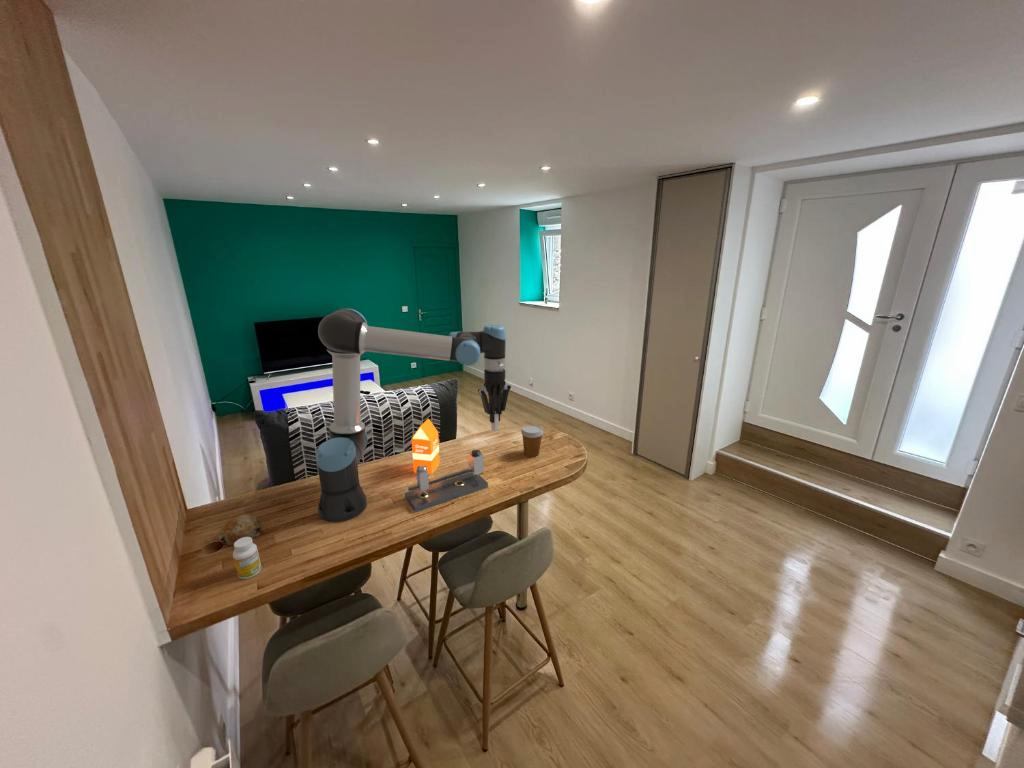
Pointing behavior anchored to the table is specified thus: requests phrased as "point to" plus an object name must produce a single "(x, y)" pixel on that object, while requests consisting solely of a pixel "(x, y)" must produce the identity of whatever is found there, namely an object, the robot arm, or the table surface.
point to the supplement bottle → (246, 558)
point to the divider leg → (476, 462)
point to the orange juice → (426, 447)
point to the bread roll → (240, 529)
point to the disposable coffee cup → (532, 439)
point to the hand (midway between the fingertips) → (494, 429)
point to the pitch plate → (442, 488)
